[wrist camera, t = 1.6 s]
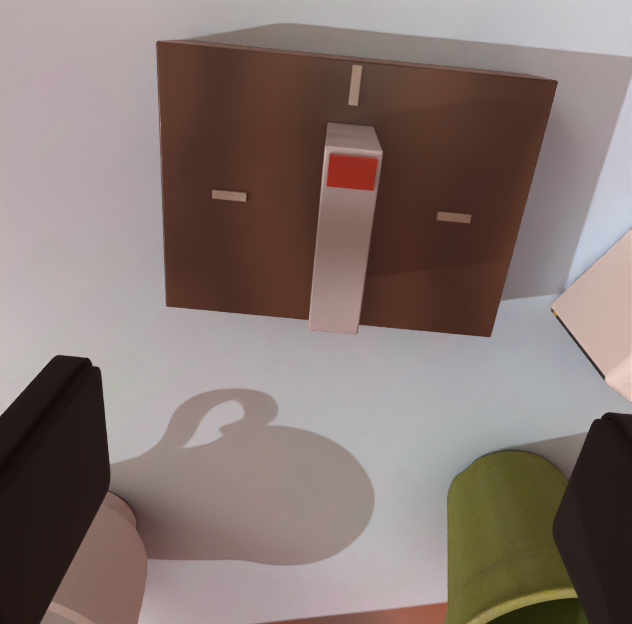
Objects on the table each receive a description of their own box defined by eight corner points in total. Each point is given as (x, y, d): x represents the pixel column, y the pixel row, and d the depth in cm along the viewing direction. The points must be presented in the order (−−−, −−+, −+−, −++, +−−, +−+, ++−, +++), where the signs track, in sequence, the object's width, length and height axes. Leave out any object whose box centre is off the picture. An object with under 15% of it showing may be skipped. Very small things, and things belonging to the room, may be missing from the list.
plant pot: (562, 383, 31) (671, 554, 21) (628, 520, 35) (745, 716, 25) (372, 464, 34) (387, 647, 24) (455, 580, 38) (497, 777, 28)
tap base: (184, 276, 29) (164, 308, 25) (179, 39, 24) (154, 41, 20) (474, 304, 29) (491, 339, 25) (530, 74, 24) (560, 80, 20)
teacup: (161, 406, 32) (94, 548, 23) (196, 580, 39) (154, 743, 30) (-39, 408, 33) (-180, 548, 24) (29, 579, 40) (-62, 738, 31)
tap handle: (353, 279, 24) (357, 338, 20) (313, 276, 24) (307, 333, 20) (374, 126, 22) (383, 152, 17) (327, 122, 22) (324, 146, 17)
